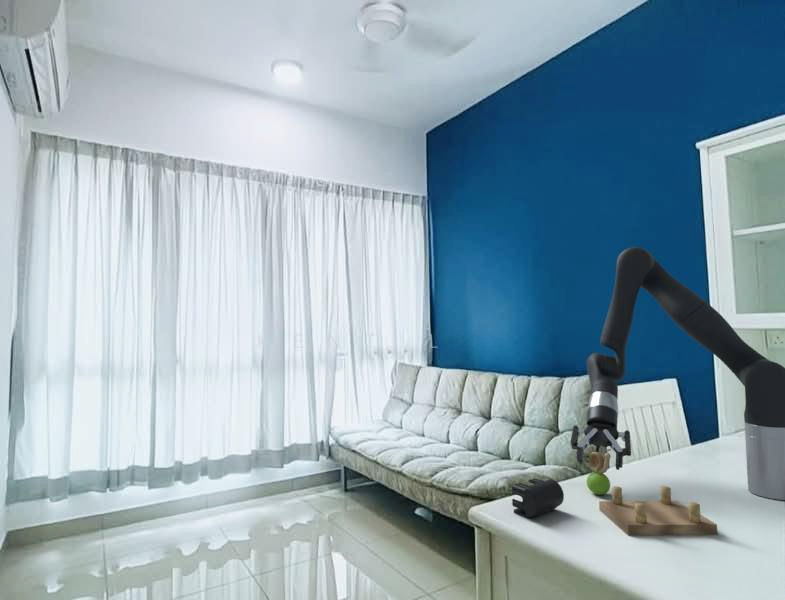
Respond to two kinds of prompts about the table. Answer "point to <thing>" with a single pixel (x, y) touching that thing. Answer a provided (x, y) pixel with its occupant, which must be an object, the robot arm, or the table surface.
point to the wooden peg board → (656, 516)
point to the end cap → (537, 497)
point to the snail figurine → (599, 473)
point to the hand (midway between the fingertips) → (598, 465)
